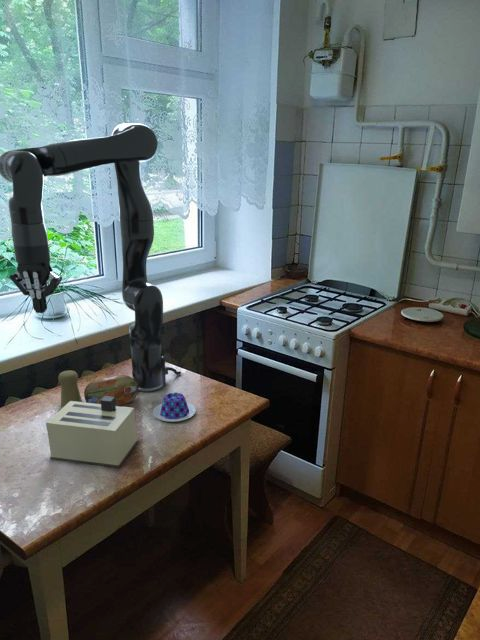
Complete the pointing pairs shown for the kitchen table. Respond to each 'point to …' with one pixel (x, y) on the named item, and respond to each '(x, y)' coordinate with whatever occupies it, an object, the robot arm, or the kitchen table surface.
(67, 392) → the pepper mill
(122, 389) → the tin
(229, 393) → the kitchen table surface
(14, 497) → the kitchen table surface
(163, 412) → the pudding
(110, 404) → the slider button
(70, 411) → the toaster
